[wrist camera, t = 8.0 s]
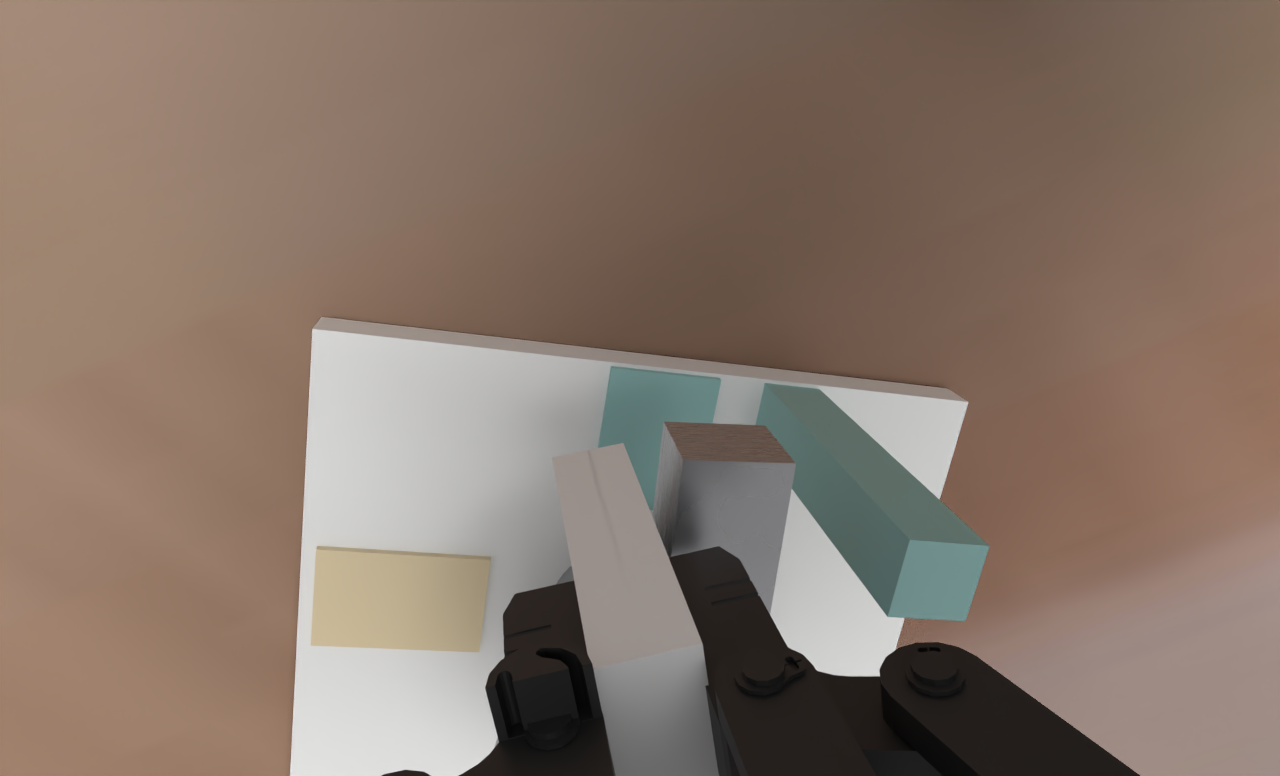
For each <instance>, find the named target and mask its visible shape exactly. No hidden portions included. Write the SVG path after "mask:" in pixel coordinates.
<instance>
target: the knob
mask: <svg viewBox="0 0 1280 776" xmlns="http://www.w3.org/2000/svg"><path fill="white" fill-rule="evenodd" d="M795 467H796V463H795V462H794V460H793V459H792V458H791V457H790V455H789V454H788V453H787V452H786V450H785V449H784V448H783V447H782V445H781V444H780V443H779V442H778V441H777V439H776V438H775V437H774V436H773V434H772V433H771V432H770V431H769V429H768V428H767V427H766V426H765V425H742V424H716V423H690V422H663V430H662V439H661V447H660V456H659V464H658V473H657V481H656V490H655V498H654V507H653V515H652V517H653V519H654V522H655V524H656V527H657V530H658V532H659V535H660V537H661V540H662V542H663V545H664V547H665V550H666V552H667V555H668V557H672V556H677V555H681V554H686V553H690V552H695V551H699V550H704V549H708V548H713V547H717V546H720V547H721V548H723V549H724V550H726V551H728V552H729V553H731V554H732V555H734V556H736V557H737V558H739V559H740V561H741V562H742V564H743V566H744V568H745V570H746V572H747V573H748V575H749V577H750V581H752V583H753V584H754V586H755V588H756V590H757V592H758V596H760V597H761V599H762V601H763V603H764V605H765V606H766V608H767V610H768V612H769V614H770V612H771V606H772V600H773V595H774V589H775V583H776V577H777V571H778V565H779V560H780V554H781V548H782V542H783V536H784V531H785V525H786V519H787V513H788V507H789V502H790V496H791V490H792V484H793V478H794V473H795ZM498 743H499V740H498V737H497V740H496V744H495V747H496V745H497V744H498ZM495 747H494V748H495Z"/></svg>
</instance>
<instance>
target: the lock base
mask: <svg viewBox="0 0 1280 776" xmlns="http://www.w3.org/2000/svg"><path fill="white" fill-rule="evenodd" d="M967 405H968V401H966V400H965V399H963V398H962V397H960V396H959V395H957V394H956V393H954V392H953V391H951V390H949V389H948V388H939V387H931V386H922V385H913V384H904V383H896V382H887V381H878V380H869V379H861V378H852V377H843V376H835V375H826V374H817V373H808V372H800V371H791V370H782V369H773V368H765V367H756V366H747V365H738V364H730V363H721V362H712V361H704V360H695V359H686V358H677V357H669V356H660V355H651V354H642V353H634V352H625V351H616V350H607V349H599V348H590V347H581V346H572V345H564V344H555V343H546V342H538V341H529V340H520V339H511V338H503V337H494V336H485V335H476V334H468V333H459V332H450V331H441V330H433V329H424V328H415V327H406V326H398V325H389V324H380V323H372V322H363V321H354V320H345V319H337V318H328V317H321V318H320V320H319V321H318V322H317V324H316V325H315V326H314V328H313V329H312V349H311V369H310V389H309V409H308V429H307V449H306V469H305V489H304V509H303V529H302V549H301V569H300V589H299V609H298V629H297V649H296V669H295V689H294V709H293V729H292V749H291V769H290V776H382V775H384V774H387V773H392V772H397V771H402V770H413V771H423V772H426V773H427V774H429V775H431V776H459V775H461V774H463V773H464V772H466V771H468V770H469V769H471V768H472V767H474V766H476V765H477V764H479V763H480V762H481V761H482V760H483V759H484V758H485V757H487V756H488V755H489V754H490V753H491V752H492V750H493V749H494V747H495V744H496V740H497V737H498V736H497V732H496V729H495V725H494V721H493V717H492V713H491V709H490V705H489V701H488V698H487V694H486V690H485V686H486V683H487V679H488V676H489V673H490V672H491V671H492V670H493V669H494V668H495V666H496V665H497V664H498V663H499V662H500V661H501V660H502V659H504V657H505V655H504V636H503V613H504V612H505V610H506V608H507V606H508V605H509V603H510V601H511V600H512V598H513V596H514V594H516V593H520V592H525V591H529V590H534V589H538V588H543V587H547V586H552V585H556V584H561V583H565V582H570V581H574V577H573V571H572V565H571V560H570V554H569V549H568V543H567V538H566V532H565V527H564V521H563V516H562V510H561V505H560V499H559V494H558V488H557V483H556V477H555V472H554V466H553V461H552V457H557V456H562V455H567V454H571V453H576V452H581V451H586V450H591V449H596V448H601V447H606V446H610V445H615V444H620V443H624V446H625V449H626V451H627V454H628V456H629V459H630V461H631V464H632V466H633V469H634V471H635V474H636V476H637V479H638V481H639V484H640V486H641V489H642V492H643V494H644V497H645V499H646V502H647V504H648V507H649V509H650V512H651V514H652V515H653V507H654V498H655V490H656V481H657V473H658V464H659V456H660V447H661V439H662V430H663V422H690V423H716V424H742V425H765V426H766V427H767V428H768V429H769V431H770V432H771V433H772V434H773V436H774V437H775V438H776V439H777V441H778V442H779V443H780V444H781V445H782V447H783V448H784V449H785V450H786V452H787V453H788V454H789V455H790V457H791V458H792V459H793V460H794V462H795V463H796V467H795V473H794V478H793V484H792V490H791V496H790V502H789V507H788V513H787V519H786V525H785V531H784V536H783V542H782V548H781V554H780V560H779V565H778V571H777V577H776V583H775V589H774V595H773V600H772V606H771V612H770V616H771V617H772V619H773V621H774V623H775V625H776V627H777V628H778V630H779V632H780V634H781V636H782V638H783V639H784V641H785V643H786V645H787V647H788V648H790V649H792V650H795V651H797V652H799V653H801V654H803V655H804V656H805V657H806V658H807V659H808V660H809V661H810V662H811V663H812V665H813V666H814V667H815V669H816V670H817V671H819V672H824V673H828V674H832V675H839V676H880V670H879V669H880V667H881V665H882V663H883V662H884V660H885V658H886V657H887V656H888V655H889V654H891V653H892V652H894V651H895V649H896V645H897V642H898V639H899V635H900V632H901V628H902V625H903V622H904V618H915V619H934V620H952V621H966V618H967V615H968V612H969V608H970V605H971V602H972V599H973V596H974V593H975V590H976V587H977V584H978V580H979V577H980V574H981V571H982V568H983V565H984V562H985V559H986V555H987V552H988V549H989V545H988V544H987V543H986V542H985V541H984V540H983V539H981V538H980V537H979V536H978V535H977V534H976V533H975V532H974V531H973V530H972V529H971V528H970V527H968V526H967V525H966V524H965V523H964V522H963V521H962V520H961V519H960V518H959V517H958V516H957V515H955V514H954V513H953V512H952V511H951V510H950V509H949V508H948V507H947V506H946V505H945V504H944V503H942V502H941V501H940V497H941V493H942V490H943V486H944V483H945V480H946V476H947V473H948V470H949V466H950V463H951V459H952V456H953V453H954V449H955V446H956V443H957V439H958V436H959V432H960V429H961V426H962V422H963V419H964V415H965V412H966V409H967Z"/></svg>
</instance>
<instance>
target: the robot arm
mask: <svg viewBox="0 0 1280 776" xmlns="http://www.w3.org/2000/svg"><path fill="white" fill-rule="evenodd" d="M552 461H553V466H554V472H555V477H556V483H557V488H558V494H559V499H560V505H561V510H562V516H563V521H564V527H565V532H566V538H567V543H568V549H569V554H570V560H571V565H572V571H573V577H574V581H570V582H565V583H561V584H556V585H552V586H547V587H543V588H538V589H534V590H529V591H525V592H520V593H516V594H514V596H513V598H512V600H511V601H510V603H509V605H508V606H507V608H506V610H505V612H504V613H503V636H504V655H505V657H504V659H502V660H501V661H500V662H499V663H498V664H497V665H496V666H495V668H494V669H493V670H492V671H491V672H490V673H489V676H488V679H487V683H486V686H485V690H486V694H487V698H488V701H489V705H490V709H491V713H492V717H493V721H494V725H495V729H496V732H497V736H498V740H499V743H498V744H497V745H496V747H495V748H494V749H493V750H492V752H491V753H490V754H489V755H488V756H487V757H485V758H484V759H483V760H482V761H481V762H480V763H479V764H477V765H476V766H474V767H472V768H471V769H469V770H468V771H466V772H464V773H463V774H461V775H459V776H1140V775H1139V774H1137V773H1136V772H1134V771H1133V770H1132V769H1130V768H1129V767H1128V766H1126V765H1125V764H1123V763H1122V762H1121V761H1119V760H1118V759H1117V758H1115V757H1114V756H1112V755H1111V754H1110V753H1108V752H1107V751H1106V750H1104V749H1103V748H1101V747H1100V746H1099V745H1097V744H1096V743H1095V742H1093V741H1092V740H1091V739H1089V738H1088V737H1086V736H1085V735H1084V734H1082V733H1081V732H1080V731H1078V730H1077V729H1075V728H1074V727H1073V726H1071V725H1070V724H1069V723H1067V722H1066V721H1064V720H1063V719H1062V718H1060V717H1059V716H1058V715H1056V714H1055V713H1053V712H1052V711H1051V710H1049V709H1048V708H1047V707H1045V706H1044V705H1042V704H1041V703H1040V702H1038V701H1037V700H1036V699H1034V698H1033V697H1031V696H1030V695H1029V694H1027V693H1026V692H1025V691H1023V690H1022V689H1020V688H1019V687H1018V686H1016V685H1015V684H1014V683H1012V682H1011V681H1010V680H1008V679H1007V678H1005V677H1004V676H1003V675H1001V674H1000V673H999V672H997V671H996V670H994V669H993V668H992V667H990V666H989V665H988V664H986V663H985V662H983V661H982V660H981V659H979V658H978V657H977V656H975V655H973V654H971V653H969V652H967V651H965V650H963V649H961V648H959V647H956V646H951V645H947V644H943V643H938V642H934V643H914V644H911V645H907V646H903V647H900V648H898V649H897V650H895V651H894V652H892V653H891V654H889V655H888V656H887V657H886V658H885V660H884V662H883V663H882V665H881V667H880V669H879V670H880V676H839V675H832V674H828V673H824V672H819V671H817V670H816V669H815V667H814V666H813V665H812V663H811V662H810V661H809V660H808V659H807V658H806V657H805V656H804V655H803V654H801V653H799V652H797V651H795V650H792V649H790V648H788V647H787V645H786V643H785V641H784V639H783V638H782V636H781V634H780V632H779V630H778V628H777V627H776V625H775V623H774V621H773V619H772V617H771V616H770V614H769V612H768V610H767V608H766V606H765V605H764V603H763V601H762V599H761V597H760V596H758V592H757V590H756V588H755V586H754V584H753V583H752V581H750V577H749V575H748V573H747V572H746V570H745V568H744V566H743V564H742V562H741V561H740V559H739V558H737V557H736V556H734V555H732V554H731V553H729V552H728V551H726V550H724V549H723V548H721V547H720V546H717V547H713V548H708V549H704V550H699V551H695V552H690V553H686V554H681V555H677V556H672V557H668V555H667V552H666V550H665V547H664V545H663V542H662V540H661V537H660V535H659V532H658V530H657V527H656V524H655V522H654V519H653V517H652V514H651V512H650V509H649V507H648V504H647V502H646V499H645V497H644V494H643V492H642V489H641V486H640V484H639V481H638V479H637V476H636V474H635V471H634V469H633V466H632V464H631V461H630V459H629V456H628V454H627V451H626V449H625V446H624V443H620V444H615V445H610V446H606V447H601V448H596V449H591V450H586V451H581V452H576V453H571V454H567V455H562V456H557V457H552ZM382 776H431V775H429V774H427V773H426V772H423V771H413V770H402V771H397V772H392V773H387V774H384V775H382Z"/></svg>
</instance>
